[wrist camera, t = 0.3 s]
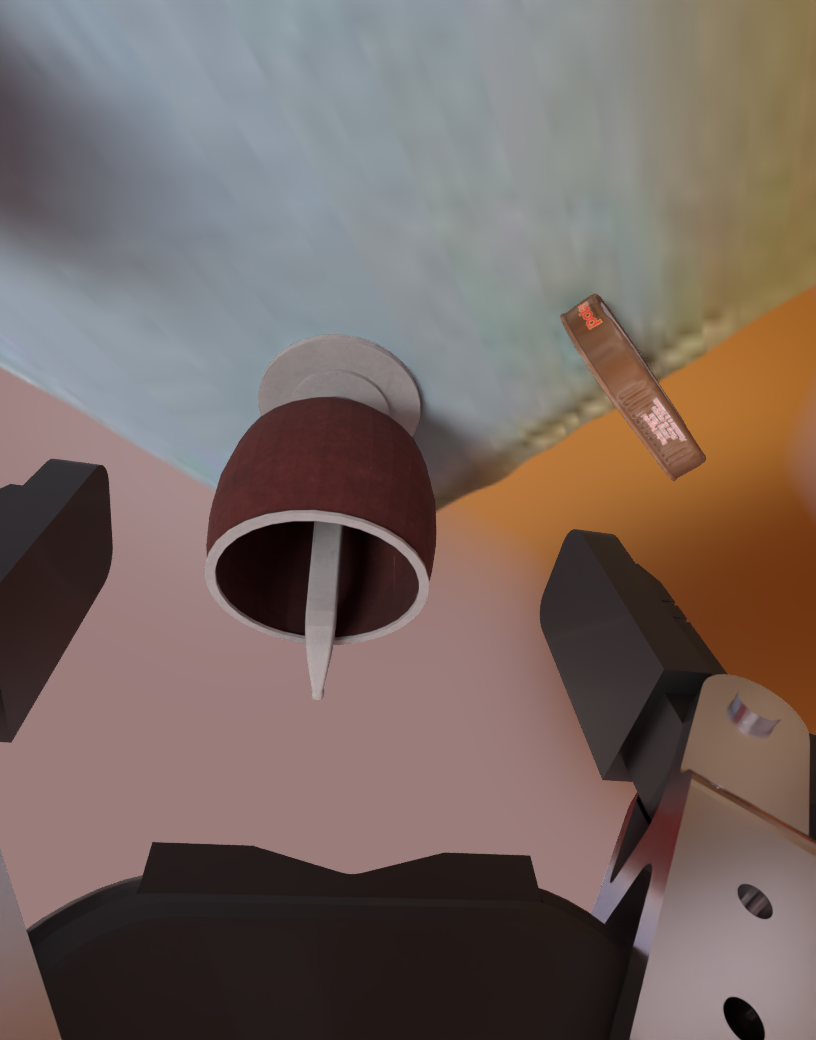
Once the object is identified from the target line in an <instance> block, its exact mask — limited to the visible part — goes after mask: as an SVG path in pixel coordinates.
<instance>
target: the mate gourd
mask: <svg viewBox="0 0 816 1040" xmlns="http://www.w3.org/2000/svg"><path fill="white" fill-rule="evenodd" d="M259 409H260V414H261V417H260V418H259V419H258V420H257V421H256V422H255V423H254V424H253V425H252V426H251V427H250V428H249V429H248V431H247V432H246V433H245V434H244V436H243V437H242V438H241V440H240V441H239V443H238V445H237V447H236V448H235V450H234V452H233V454H232V455H231V457H230V459H229V461H228V463H227V465H226V466H225V468H224V470H223V472H222V474H221V477H220V480H219V483H218V487H217V490H216V494H215V497H214V500H213V503H212V508H211V512H210V517H209V526H208V536H207V561H206V565H205V569H204V570H205V579H206V584H207V586H208V588H209V591H210V593H211V595H212V596H213V598H214V599H215V600H216V601H217V603H218V604H219V605H220V607H222V608H223V609H224V610H225V611H226V612H227V613H229V614H230V615H231V616H232V617H233V618H235V619H237V620H238V621H240V622H242V623H243V624H245V625H247V626H248V627H251V628H253V629H255V630H257V631H260V632H262V633H264V634H267V635H271V636H274V637H278V638H280V639H284V640H289V641H295V642H300V643H306V652H307V661H308V667H309V674H310V680H311V686H312V698H313V699H314V700H321V699H323V697H324V684H325V680H326V675H327V671H328V667H329V663H330V659H331V655H332V649H333V645H341V644H350V643H359V642H363V641H368V640H372V639H376V638H378V637H382V636H384V635H387V634H390V633H392V632H394V631H396V630H398V629H399V628H401V627H403V626H405V625H406V624H407V623H409V622H410V621H411V620H412V619H413V618H415V617H416V616H417V614H418V613H419V612H420V610H421V609H422V608H423V606H424V605H425V602H426V599H427V596H428V593H429V580H430V577H431V573H432V568H433V560H434V554H435V547H436V511H435V499H434V495H433V491H432V487H431V483H430V479H429V475H428V471H427V467H426V464H425V462H424V459H423V457H422V454H421V452H420V450H419V448H418V446H417V445H416V443H415V441H414V439H413V438H412V437H413V436H414V434H415V432H416V430H417V427H418V423H419V419H420V396H419V392H418V388H417V385H416V383H415V381H414V379H413V377H412V375H411V373H410V372H409V370H408V369H407V368H406V367H405V365H404V364H403V363H402V362H401V361H400V360H399V359H398V358H397V357H395V356H394V355H393V354H392V353H391V352H389V351H388V350H386V349H384V348H383V347H381V346H379V345H377V344H375V343H373V342H370V341H367V340H365V339H362V338H359V337H354V336H348V335H341V334H332V335H319V336H314V337H309V338H305V339H303V340H300V341H298V342H296V343H293V344H291V345H290V346H288V347H287V348H285V349H284V350H282V351H281V352H279V354H278V355H277V356H276V357H275V358H274V359H273V360H272V361H271V362H270V363H269V365H268V367H267V369H266V371H265V372H264V374H263V377H262V381H261V385H260V389H259Z"/></svg>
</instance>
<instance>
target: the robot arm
mask: <svg viewBox="0 0 816 1040" xmlns="http://www.w3.org/2000/svg"><path fill="white" fill-rule="evenodd" d="M112 550H113V546H112V529H111V511H110V494H109V479H108V474H107V471H106V468H105V467H104V466H103V465H97V464H90V463H82V462H74V461H67V460H60V459H50V460H49V461H47V462H46V463H45V464H44V465H43V466H42V467H41V468H40V469H39V470H38V471H37V472H36V473H35V474H34V475H33V476H32V477H31V478H30V479H29V480H28V481H27V482H26V483H25V484H24V485H23V486H21V485H14V484H10V485H7V486H5V487H3V488H1V489H0V742H12V740H13V739H14V737H15V735H16V734H17V731H18V730H19V728H20V727H21V725H22V723H23V722H24V720H25V718H26V716H27V714H28V713H29V711H30V710H31V708H32V706H33V705H34V703H35V701H36V699H37V698H38V696H39V694H40V692H41V691H42V689H43V687H44V686H45V684H46V682H47V681H48V679H49V677H50V676H51V674H52V672H53V670H54V669H55V667H56V665H57V664H58V662H59V660H60V659H61V657H62V655H63V653H64V652H65V650H66V648H67V647H68V645H69V643H70V641H71V640H72V638H73V636H74V635H75V633H76V631H77V630H78V628H79V626H80V624H81V623H82V621H83V619H84V618H85V616H86V614H87V612H88V611H89V609H90V607H91V605H92V604H93V602H94V600H95V599H96V597H97V595H98V594H99V592H100V590H101V589H102V587H103V585H104V583H105V581H106V579H107V576H108V573H109V570H110V566H111V560H112ZM674 603H675V601H674V600H673V599H672V597H671V596H670V595H669V593H668V592H667V590H666V589H665V588H664V587H663V585H662V584H661V582H660V581H658V580H657V579H656V578H655V577H653V576H652V575H651V574H650V573H649V572H647V571H646V570H645V569H644V568H642V567H641V566H640V565H639V564H635V562H634V561H633V559H632V558H631V556H630V555H629V554H628V552H627V551H626V549H625V548H624V546H623V545H622V544H621V542H620V541H619V539H618V538H617V537H616V536H615V535H613V534H607V533H600V532H592V531H584V530H577V529H576V530H575V529H574V530H571V531H570V532H569V533H568V534H567V536H566V538H565V540H564V542H563V544H562V547H561V550H560V552H559V555H558V557H557V560H556V562H555V565H554V568H553V570H552V573H551V575H550V578H549V581H548V583H547V586H546V588H545V591H544V594H543V597H542V600H541V606H540V623H541V627H542V631H543V633H544V635H545V638H546V641H547V643H548V645H549V648H550V650H551V653H552V656H553V658H554V661H555V663H556V666H557V668H558V670H559V673H560V675H561V678H562V680H563V683H564V685H565V688H566V690H567V693H568V695H569V698H570V700H571V703H572V705H573V708H574V710H575V713H576V715H577V718H578V720H579V723H580V725H581V728H582V730H583V733H584V735H585V737H586V740H587V742H588V745H589V747H590V750H591V752H592V755H593V757H594V760H595V762H596V765H597V767H598V770H599V772H600V775H601V777H602V780H612V781H629V782H633V783H634V785H635V788H636V790H637V793H636V794H635V796H634V798H633V799H632V801H631V803H630V805H629V807H628V809H627V812H626V815H625V818H624V821H623V824H622V827H621V830H620V833H619V836H618V839H617V841H616V845H615V847H614V850H613V853H612V856H611V859H610V862H609V865H608V868H607V870H606V873H605V876H604V879H603V882H602V885H601V888H600V891H599V894H598V897H597V899H596V902H595V904H594V906H593V909H592V911H591V913H589V912H587V911H586V910H584V909H582V908H581V907H579V906H577V905H575V904H574V903H572V902H570V901H569V900H567V899H564V898H562V897H560V896H558V895H555V894H553V893H551V892H549V891H546V890H543V889H540V888H538V885H537V881H536V877H535V873H534V869H533V865H532V861H531V857H530V856H525V855H497V854H469V853H441V854H438V855H433V856H429V857H425V858H421V859H417V860H413V861H409V862H405V863H401V864H397V865H393V866H388V867H384V868H380V869H376V870H372V871H369V872H364V873H360V874H345V873H341V872H337V871H334V870H331V869H327V868H324V867H321V866H317V865H314V864H311V863H308V862H304V861H301V860H298V859H295V858H291V857H288V856H285V855H281V854H278V853H275V852H271V851H268V850H265V849H261V848H258V847H255V846H244V845H214V844H188V843H159V842H153V843H152V846H151V849H150V853H149V856H148V860H147V863H146V866H145V870H144V873H143V875H142V876H138V877H133V878H130V879H126V880H123V881H120V882H117V883H114V884H111V885H108V886H105V887H102V888H100V889H97V890H95V891H93V892H90V893H88V894H86V895H84V896H82V897H80V898H77V899H75V900H73V901H71V902H69V903H67V904H66V905H64V906H63V907H61V908H59V909H57V910H55V911H54V912H52V913H50V914H49V915H47V916H45V917H43V918H42V919H41V920H39V921H38V922H36V923H35V924H33V925H32V926H30V927H29V928H28V929H26V928H25V925H24V922H23V918H22V915H21V912H20V909H19V906H18V903H17V900H16V897H15V894H14V891H13V888H12V884H11V882H10V878H9V875H8V872H7V869H6V866H5V863H4V859H3V856H2V853H1V850H0V1040H816V735H813V734H810V733H808V730H807V728H806V726H805V724H804V722H803V721H802V719H801V718H800V717H799V715H798V714H797V713H796V712H795V711H794V710H793V709H792V708H791V707H790V706H789V705H788V704H787V703H786V702H785V701H784V700H782V699H781V698H780V697H778V696H777V695H776V694H774V693H773V692H771V691H769V690H768V689H766V688H764V687H763V686H760V685H759V684H757V683H755V682H752V681H750V680H747V679H744V678H741V677H738V676H734V675H728V674H727V673H726V672H725V670H724V669H723V667H722V666H721V665H720V663H719V662H718V661H717V659H716V658H715V656H714V655H713V654H712V652H711V651H710V650H709V648H708V647H707V645H706V644H705V643H704V641H703V640H702V639H701V637H700V636H699V634H698V633H697V632H696V630H695V629H694V628H693V626H692V625H691V623H690V622H686V619H687V618H686V617H685V615H684V614H683V612H682V611H681V610H680V609H679V607H678V606H675V605H674Z"/></svg>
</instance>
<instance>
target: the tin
mask: <svg viewBox="0 0 816 1040" xmlns="http://www.w3.org/2000/svg"><path fill="white" fill-rule="evenodd" d="M560 317H561V321H562V323H563V325H564V327H565V329H566V331H567V333H568V335H569V337H570V338H571V340H572V342H573V343H574V345H575V347H576V349H577V350H578V352H579V354H580V355H581V357H582V359H583V360H584V362H585V363H586V365H587V366H588V368H589V370H590V371H591V372H592V374H593V375H594V377H595V378H596V380H597V381H598V383H599V384H600V386H601V387H602V389H603V390H604V391H605V393H606V394H607V396H608V397H609V399H610V400H611V401H612V403H613V404H614V405H615V407H616V408H617V409H618V411H619V412H620V413H621V415H622V416H623V417H624V419H625V420H626V421H627V423H628V424H629V425H630V427H631V428H632V429H633V430H634V432H635V433H636V434H637V435H638V437H639V438H640V440H641V441H642V442H643V443H644V445H645V446H646V447H647V449H648V450H649V451H650V453H651V454H652V455H653V457H654V458H655V459H656V461H657V462H658V464H659V465H660V466H661V468H662V469H663V470H664V471H665V472H666V474H667V475H668V476H669V477H670V478H671V480H673V481H675V480H676V479H677V478H678V477H680V476H682V475H683V474H685V473H687V472H689V471H690V470H693V469H694V468H696V467H698V466H700V465H701V464H702V463H704V462H705V460H706V457H705V455H704V453H703V452H702V451H701V449H700V448H699V446H698V444H697V443H696V441H695V440H694V438H693V437H692V435H691V433H690V432H689V430H688V429H687V427H686V425H685V424H684V421H683V420H682V418H681V416H680V415H679V413H678V412H677V410H676V409H675V407H674V406H673V404H672V403H671V401H670V400H669V398H668V396H667V395H666V394H665V392H664V391H663V389H662V387H661V386H660V385H659V383H658V381H657V380H656V378H655V377H654V375H653V374H652V372H651V370H650V369H649V367H648V366H647V364H646V363H645V361H644V359H643V358H642V356H641V355H640V353H639V352H638V350H637V349H636V347H635V346H634V344H633V343H632V341H631V340H630V338H629V337H628V335H627V334H626V332H625V331H624V330H623V328H622V327H621V325H620V324H619V322H618V321H617V320H616V318H615V317H614V315H613V314H612V312H611V311H610V310H609V308H608V307H607V305H606V304H605V303H604V301H603V300H602V298H601V297H600V296H599V295H597V294H593V295H591V296H589V297H588V298H586V299H585V300H583V301H582V302H581V303H579V304H578V305H576V306H575V307H574V308H572V309H571V310H570V311H568V312H567V313H565V314H562V315H561V316H560Z"/></svg>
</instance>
